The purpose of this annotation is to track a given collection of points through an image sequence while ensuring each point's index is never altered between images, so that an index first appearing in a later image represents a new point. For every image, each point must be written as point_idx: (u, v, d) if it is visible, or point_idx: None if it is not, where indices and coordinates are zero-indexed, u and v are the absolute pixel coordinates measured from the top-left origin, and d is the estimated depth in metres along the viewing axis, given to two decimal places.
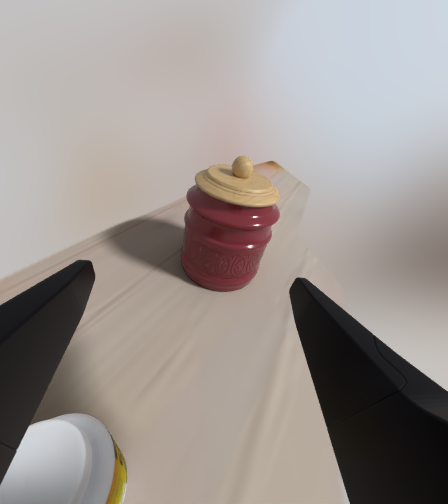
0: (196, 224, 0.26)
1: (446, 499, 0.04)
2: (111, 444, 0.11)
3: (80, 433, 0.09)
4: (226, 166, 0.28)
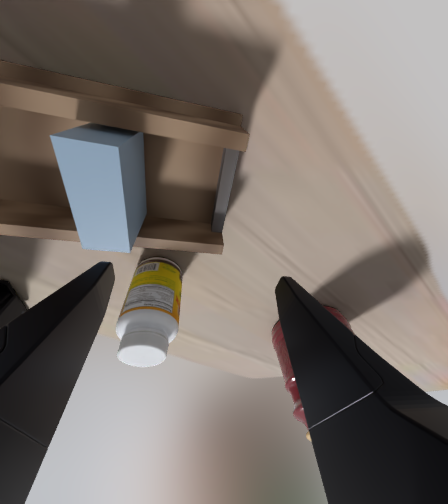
0: None
1: None
2: None
3: (159, 363, 0.18)
4: None
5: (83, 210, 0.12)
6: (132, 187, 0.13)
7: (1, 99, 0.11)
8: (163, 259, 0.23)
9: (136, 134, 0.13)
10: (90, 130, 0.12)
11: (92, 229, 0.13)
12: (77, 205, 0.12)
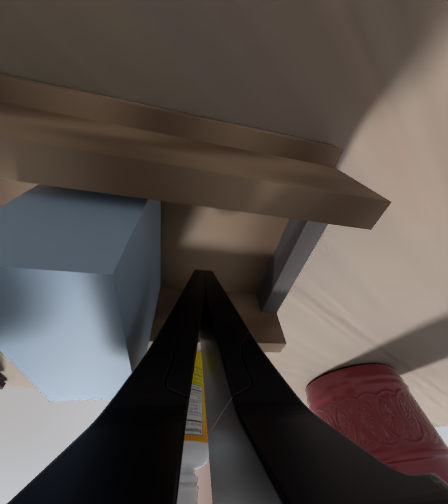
0: None
1: None
2: None
3: None
4: None
5: (41, 365, 0.06)
6: (142, 293, 0.07)
7: None
8: None
9: None
10: (53, 201, 0.05)
11: (64, 383, 0.07)
12: (27, 360, 0.06)
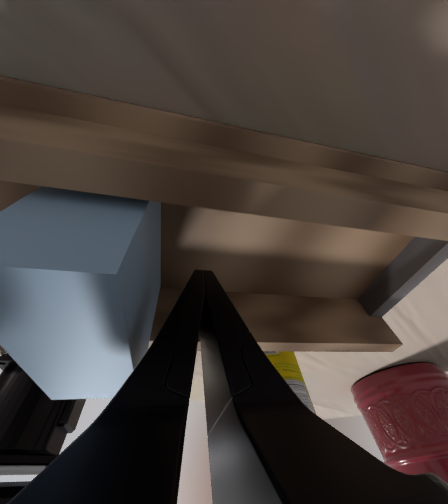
0: None
1: None
2: None
3: None
4: None
5: (44, 363, 0.06)
6: (143, 293, 0.07)
7: (223, 201, 0.06)
8: None
9: None
10: (57, 203, 0.05)
11: (66, 381, 0.07)
12: (30, 358, 0.06)
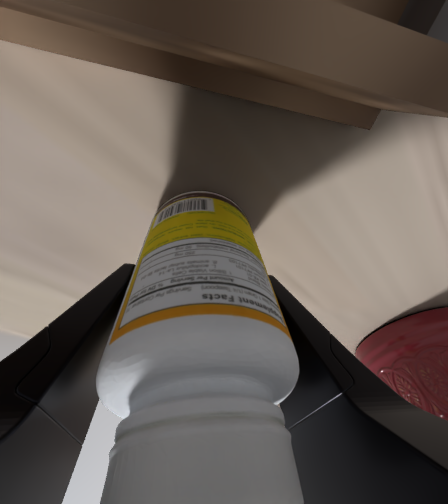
0: None
1: None
2: None
3: None
4: None
5: None
6: None
7: None
8: (218, 195, 0.10)
9: None
10: None
11: None
12: None
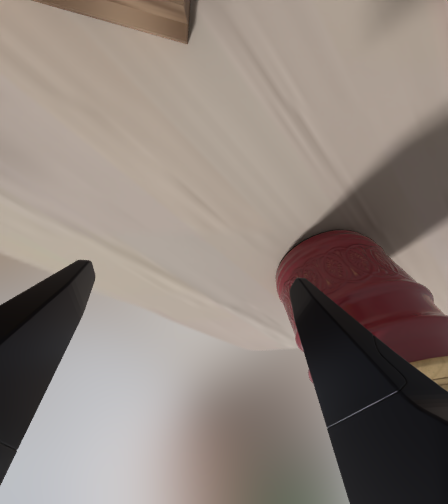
0: (366, 302, 0.16)
1: (446, 499, 0.04)
2: None
3: None
4: None
5: None
6: None
7: None
8: None
9: None
10: None
11: None
12: None
